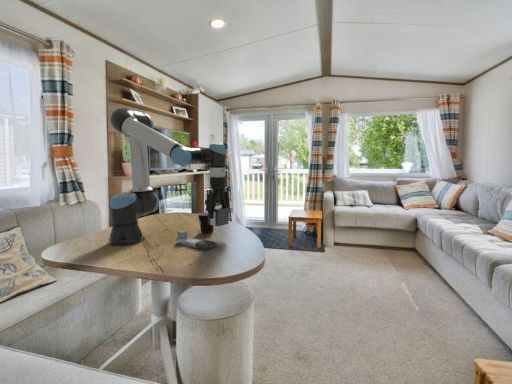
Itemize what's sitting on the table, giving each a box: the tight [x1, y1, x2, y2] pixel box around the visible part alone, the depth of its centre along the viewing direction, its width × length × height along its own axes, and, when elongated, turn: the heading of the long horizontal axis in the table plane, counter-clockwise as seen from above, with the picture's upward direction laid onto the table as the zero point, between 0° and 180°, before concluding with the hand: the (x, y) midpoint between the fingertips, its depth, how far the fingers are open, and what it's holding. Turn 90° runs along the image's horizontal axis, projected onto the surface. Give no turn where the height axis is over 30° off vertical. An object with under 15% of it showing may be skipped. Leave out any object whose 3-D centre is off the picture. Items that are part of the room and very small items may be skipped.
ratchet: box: [175, 229, 217, 252], centre depth 133 cm, size 22×6×6 cm, turn 56°
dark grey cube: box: [207, 205, 229, 227], centre depth 140 cm, size 7×7×8 cm
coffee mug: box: [197, 211, 214, 234], centre depth 158 cm, size 12×9×10 cm
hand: (218, 223), depth 140 cm, fingers closed on dark grey cube, 7 cm apart
